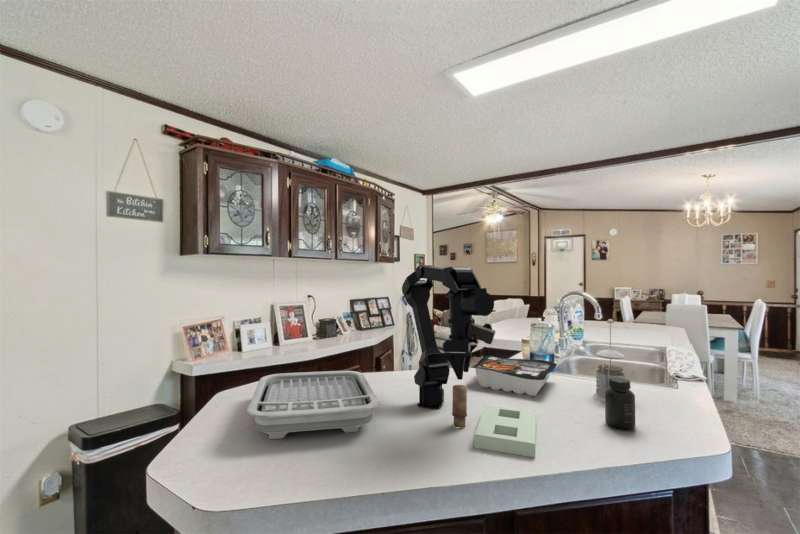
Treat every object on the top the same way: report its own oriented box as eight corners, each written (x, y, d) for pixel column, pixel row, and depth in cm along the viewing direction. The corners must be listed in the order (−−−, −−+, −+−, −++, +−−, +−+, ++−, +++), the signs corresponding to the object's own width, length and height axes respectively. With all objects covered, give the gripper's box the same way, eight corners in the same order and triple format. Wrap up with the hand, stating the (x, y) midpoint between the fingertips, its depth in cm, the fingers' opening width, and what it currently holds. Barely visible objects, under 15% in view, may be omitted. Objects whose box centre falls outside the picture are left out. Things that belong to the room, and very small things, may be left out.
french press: (630, 398, 120) (631, 319, 120) (623, 408, 111) (624, 322, 111) (596, 391, 126) (597, 316, 127) (587, 400, 118) (587, 319, 118)
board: (535, 457, 82) (535, 443, 82) (474, 447, 86) (474, 434, 86) (535, 422, 100) (535, 411, 100) (485, 415, 105) (486, 404, 105)
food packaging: (468, 366, 130) (489, 353, 149) (467, 387, 130) (489, 372, 149) (544, 377, 117) (557, 362, 136) (544, 401, 117) (556, 383, 136)
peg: (450, 427, 97) (450, 388, 97) (453, 422, 100) (453, 384, 100) (465, 429, 95) (465, 390, 96) (468, 424, 99) (468, 385, 99)
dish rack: (361, 390, 126) (361, 366, 126) (383, 439, 91) (383, 405, 91) (260, 397, 119) (261, 372, 119) (242, 453, 83) (242, 417, 83)
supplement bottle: (631, 422, 101) (631, 377, 101) (638, 433, 94) (638, 385, 94) (602, 419, 103) (602, 375, 103) (607, 429, 96) (607, 382, 96)
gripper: (488, 316, 88) (491, 385, 86) (495, 312, 105) (498, 369, 104) (441, 317, 91) (443, 383, 90) (455, 313, 109) (458, 368, 108)
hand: (463, 375), depth 98 cm, fingers open, 9 cm apart
